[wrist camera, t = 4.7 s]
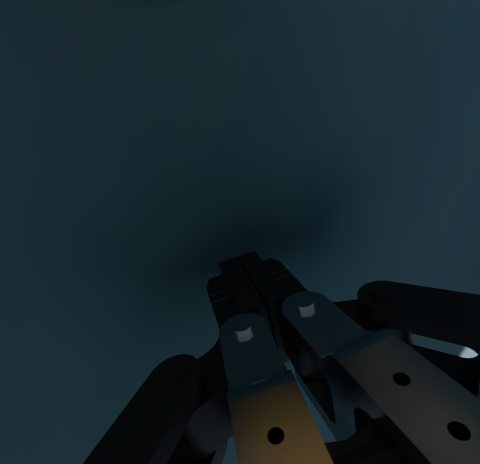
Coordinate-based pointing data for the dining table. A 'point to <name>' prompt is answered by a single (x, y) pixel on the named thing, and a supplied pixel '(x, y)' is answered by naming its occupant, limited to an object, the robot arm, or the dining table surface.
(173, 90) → the dining table surface
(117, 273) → the dining table surface
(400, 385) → the robot arm
